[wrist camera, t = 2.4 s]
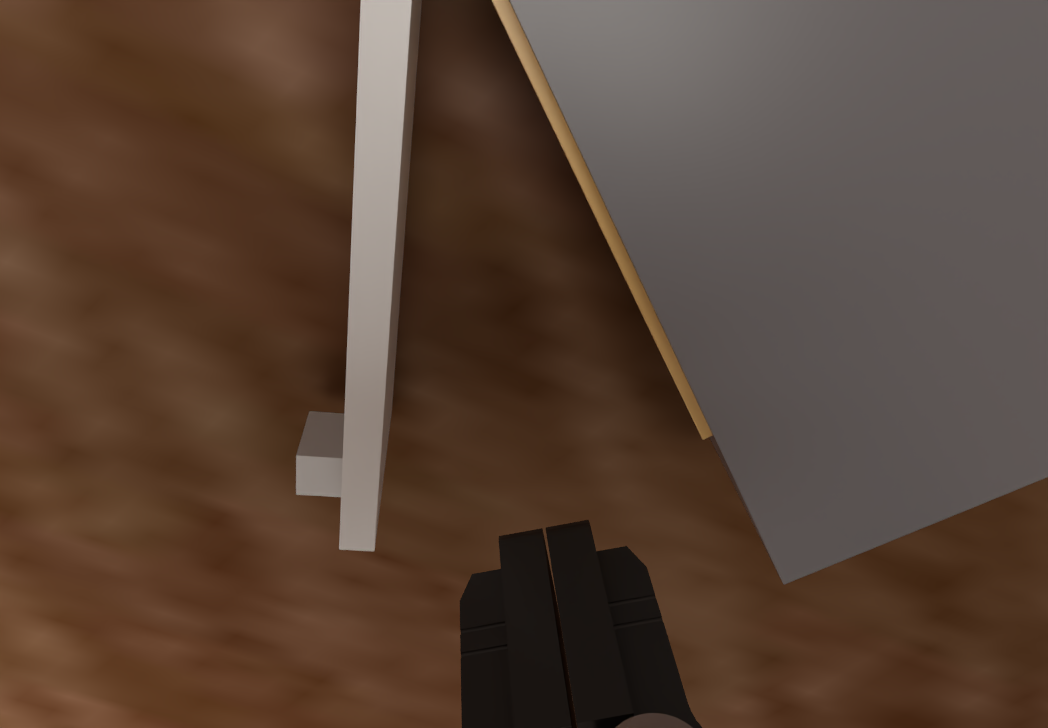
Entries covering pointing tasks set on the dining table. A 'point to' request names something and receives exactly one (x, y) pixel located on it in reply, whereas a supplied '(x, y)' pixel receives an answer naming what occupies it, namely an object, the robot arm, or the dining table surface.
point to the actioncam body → (824, 239)
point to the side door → (370, 277)
